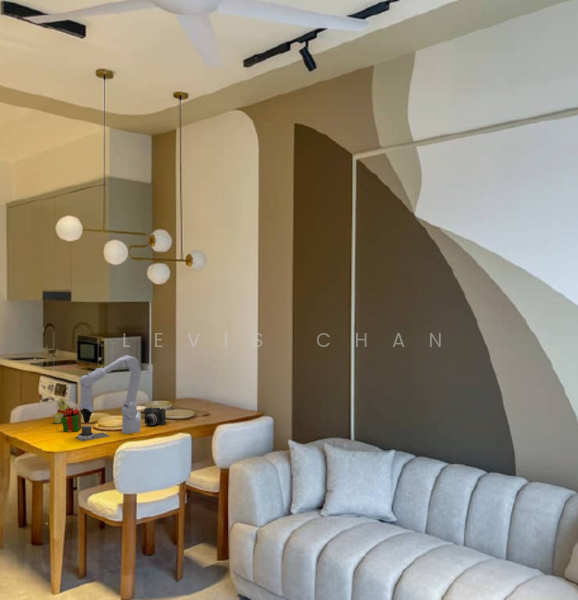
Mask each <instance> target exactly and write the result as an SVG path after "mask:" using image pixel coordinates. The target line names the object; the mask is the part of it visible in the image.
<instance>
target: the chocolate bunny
mask: <svg viewBox="0 0 578 600" xmlns="http://www.w3.org/2000/svg"><path fill="white" fill-rule="evenodd" d="M56 403H57V406H58V409H57V410H56V411H57V412H56V413H55V414H54V416H53V419H52V422H53V424H56V425H57V424H63V423H62V422H61V417H62V416H64V415H63V413H64V412H65V410H66V408H68V409H69V408H72V406H71V405H70V404H69V403H67V401H66V400H65V398H64V397H60V398H59V399H58V400H57V401H56Z"/></svg>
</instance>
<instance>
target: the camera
mask: <svg viewBox="0 0 578 600" xmlns="http://www.w3.org/2000/svg"><path fill="white" fill-rule="evenodd" d="M143 413H144V418H143V419H144V424H145V425H147V426H149V427H152V426H154V425H159V426H165V425H166V422H167V421H166V415H167V414H166V409H165V408H164V407H162V408H160V407H158V406H157V407H145V409H144V411H143Z"/></svg>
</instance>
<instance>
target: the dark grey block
mask: <svg viewBox="0 0 578 600" xmlns="http://www.w3.org/2000/svg"><path fill="white" fill-rule="evenodd" d="M81 426H82V429H81V433H82V436H88V435H91V432H92V425H81Z"/></svg>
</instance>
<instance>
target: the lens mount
mask: <svg viewBox="0 0 578 600" xmlns="http://www.w3.org/2000/svg"><path fill="white" fill-rule="evenodd" d="M109 437H111V435H109V434H107V433H105V432H99V433H95V432H92V431H91V435H88V436H82V432H80V433H78V435H77V436H74V438H75V439H77V440H79V441H81V442H85V441H92V440H98V439H103V438H109Z"/></svg>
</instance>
